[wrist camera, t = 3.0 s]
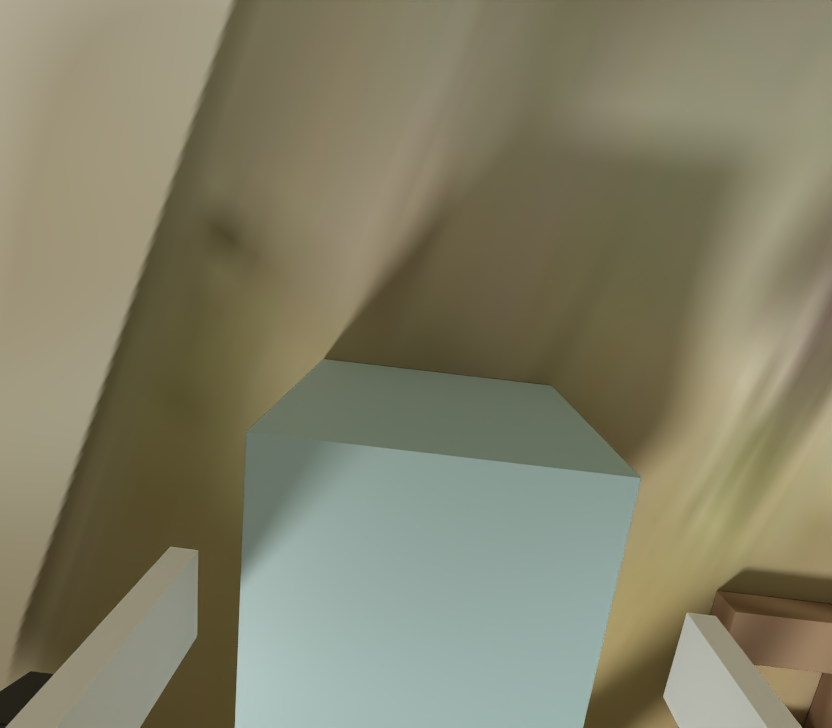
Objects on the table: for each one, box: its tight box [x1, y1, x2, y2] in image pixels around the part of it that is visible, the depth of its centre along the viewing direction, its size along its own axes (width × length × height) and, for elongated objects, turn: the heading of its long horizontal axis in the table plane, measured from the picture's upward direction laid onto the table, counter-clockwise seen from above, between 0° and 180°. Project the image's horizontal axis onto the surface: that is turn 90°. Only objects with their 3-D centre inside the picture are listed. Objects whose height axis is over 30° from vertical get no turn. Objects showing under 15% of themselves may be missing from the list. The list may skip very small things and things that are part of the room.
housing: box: [235, 359, 641, 728], centre depth 18 cm, size 10×10×9 cm
